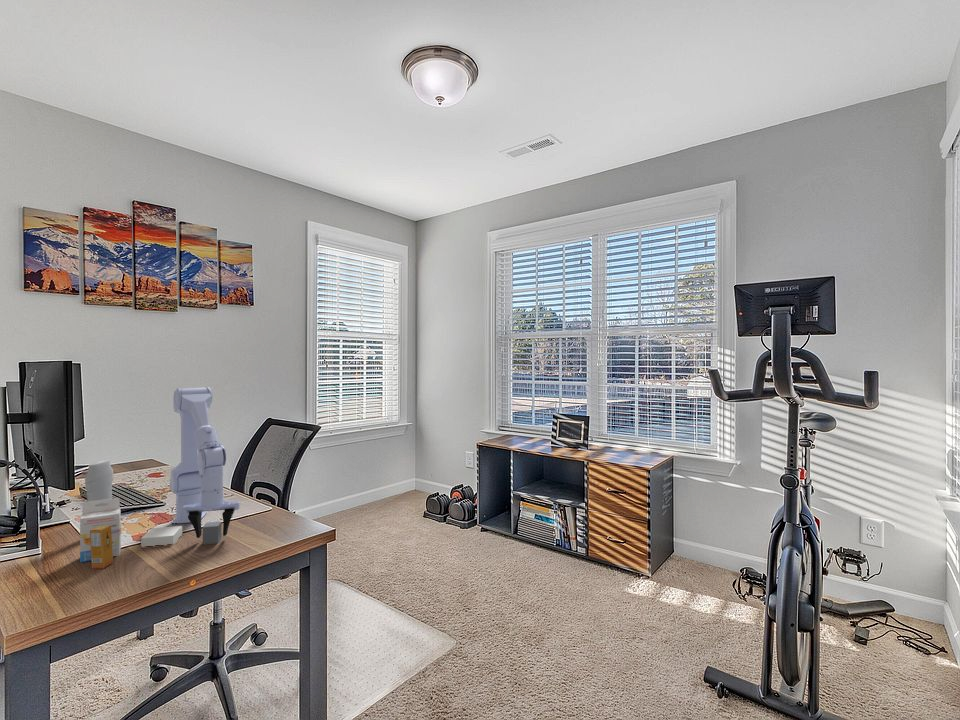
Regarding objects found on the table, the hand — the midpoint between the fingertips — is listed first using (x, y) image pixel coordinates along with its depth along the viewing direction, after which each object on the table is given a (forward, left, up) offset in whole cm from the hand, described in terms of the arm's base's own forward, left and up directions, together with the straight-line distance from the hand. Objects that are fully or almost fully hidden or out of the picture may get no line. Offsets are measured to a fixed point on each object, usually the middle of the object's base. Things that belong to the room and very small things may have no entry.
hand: (212, 535), depth 143 cm
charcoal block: (0, 0, -2) cm, 2 cm away
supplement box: (+11, -23, -2) cm, 26 cm away
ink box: (+4, -26, -2) cm, 26 cm away
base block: (-4, -14, -2) cm, 15 cm away
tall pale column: (-15, -34, -2) cm, 37 cm away
